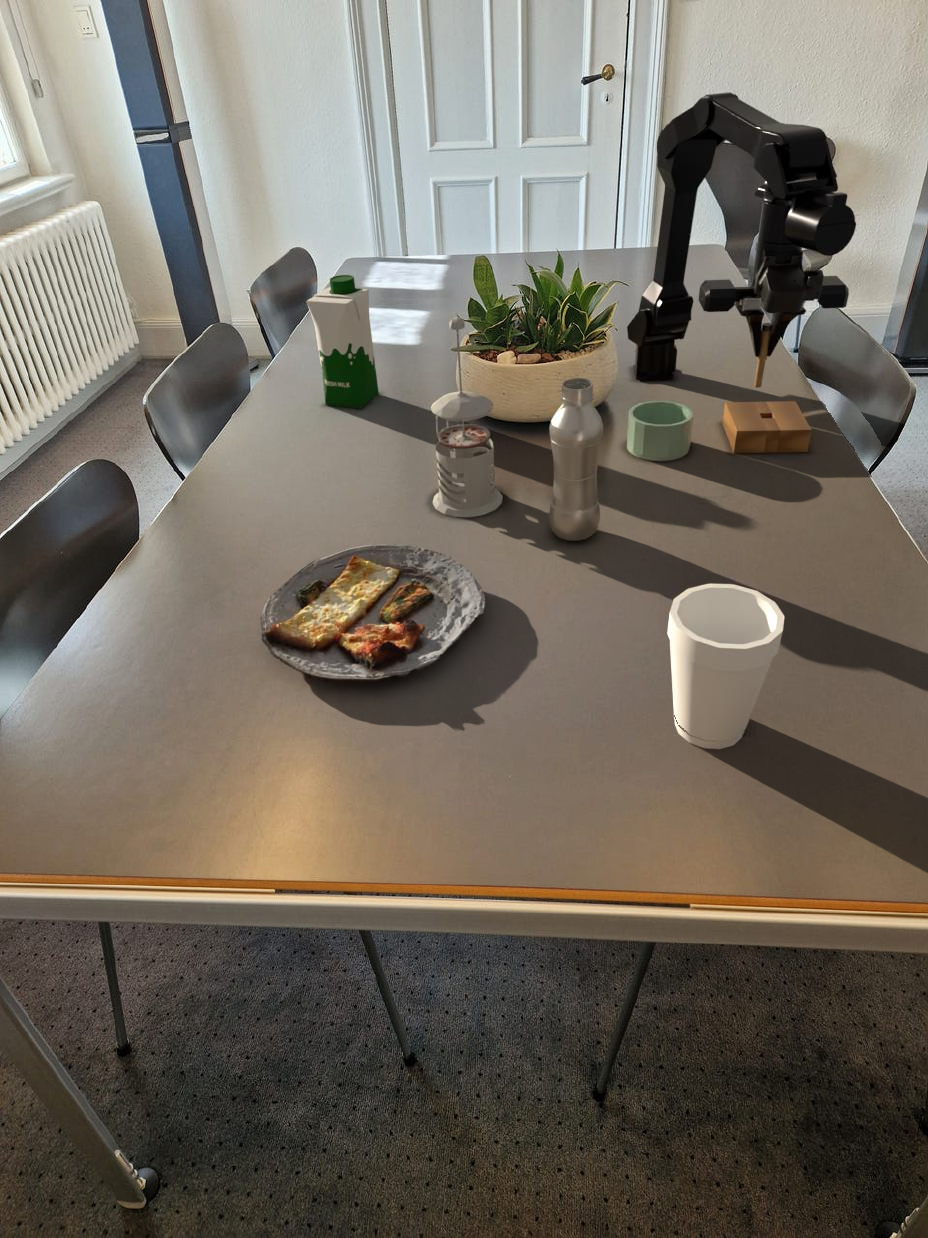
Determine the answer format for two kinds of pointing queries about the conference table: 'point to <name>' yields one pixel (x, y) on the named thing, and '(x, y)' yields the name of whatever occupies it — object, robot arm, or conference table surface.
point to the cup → (659, 430)
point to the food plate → (370, 613)
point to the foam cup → (720, 659)
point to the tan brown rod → (763, 353)
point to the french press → (464, 452)
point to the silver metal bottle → (575, 462)
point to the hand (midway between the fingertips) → (762, 355)
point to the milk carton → (345, 343)
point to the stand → (766, 427)
